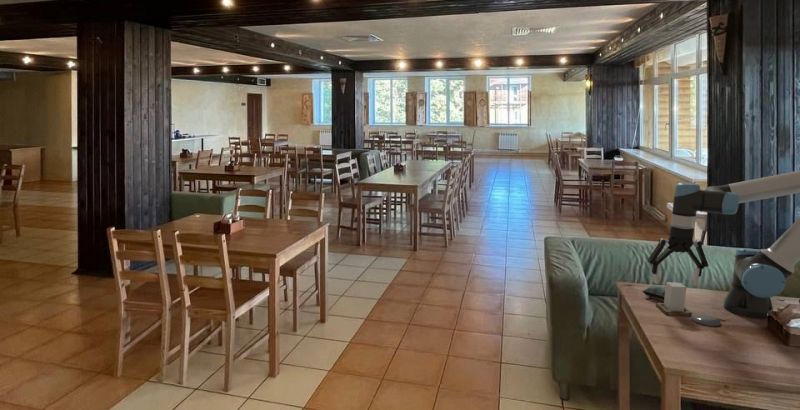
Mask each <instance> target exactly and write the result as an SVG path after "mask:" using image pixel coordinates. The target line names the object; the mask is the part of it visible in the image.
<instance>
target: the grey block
mask: <svg viewBox="0 0 800 410" xmlns="http://www.w3.org/2000/svg"><path fill="white" fill-rule="evenodd" d="M665 287H666V288H665V298H664V301H663V303H664V308H665V309H666V310H667V311H684V307H685V301H686V293H687V286H685V284H683V283H681V282H670V281H666V282H665Z"/></svg>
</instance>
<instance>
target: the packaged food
mask: <svg viewBox="0 0 800 410" xmlns="http://www.w3.org/2000/svg"><path fill="white" fill-rule="evenodd" d="M665 288H666V286H663V285H658V284H653V285H650V286H649V287H647V288H646V289H643V290H641V291H642V293H643V294H644V295H645V296H646V297H648V298H650V299H651V298H652V299H654V300H658V301H662V302H664V298H665Z"/></svg>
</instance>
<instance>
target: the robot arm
mask: <svg viewBox="0 0 800 410" xmlns="http://www.w3.org/2000/svg"><path fill="white" fill-rule="evenodd" d="M700 186H701V185H700V184H698V183H693V182H679V183H677V184H676V185H675V188H674V189H675V191H674V194H673V203H672V212H671V219H670V224H671V226H670V227H669V235H668V237H669V238H667V239H666V238H662V237H660V238H659V240H658V244H657V245H656V247H655V248H654V250H653V251H652V253H651V254H650V255H649V257H648V258H647V263H649V264H651V273H652V274H653V279H652V280H653V281H652V282H653V283H654V284H655V285H658V284H659V282H660V281H659V280H660V279H659V278H660V272H661V271H660V270H661V266H660V264H661V263H662V262H663V261H665V259H666V258H668V257H669V256H670V255H671V254H673V253H674V252H675V253H682V254H685V253H687V255H688V256H689V258H690V259H691V260H692V262H693V263H694V264H695V265H694V266H693V269H692V270H693V271H692V278H691V284H692V286H695V287H698V284H699V283H698V282H699V277H701V276H702V273H703V272H702V271H703V270H704V269H705V268H708V267H709V262H708V260H707V257H706V254H705V252H704V250H703V242H702V241H700V240H698V239H695V240H693V239H694V235H695V233H694V232H695V229H694V228H695V225H696V219H697V218H696V217H697V212H701V213H702V212H703V213H713V214H721V215H735V214H736V213H738V209H739V206H740V205H739V204H743V203H749V202H755V201H759V200H760V201H761V200H765V199H766V200H767V199H773V198H777V197H784V196H789V195H794V194H795V195H796V194H800V170H794V171H790V172H786V173H780V174H775V175H770V176H763V177H760V178H754V179H748V180H743V181H739V182H733V183H728V184H723V185H718V186H717V185H711V186H708V187H706V188H705V189H701V187H700ZM667 244H668V245H667ZM666 245H667V246H666ZM665 246H666V248H665ZM692 246H694V247H695V250H696V252H697V255H696V254H695V253H694V252H693V250H692V249H691V248H692ZM664 248H665V249H664ZM663 249H664V250H663ZM662 250H663V251H662ZM697 256H698V258H697ZM734 258H735V259H734V263H733V264H734V266H733V273H732V281H731V288H730V289H729V291H728V293H727V295H726V297H725V298H724V302H723V307H724V309H725V310H727V311H729V312H731V313H733V314H737V315H740V316H744V317H745V316H746V317H750V318H751V317H752V318H762V319H763V318H768V317H767V313H768V311H773V312H774V307H773V303H772V299H771V298H772V297H776V296H777V295H779V294H781V293H782V291H783V290H784V288H785V286H786V282H787V280H788V279H789V278H790V277H792V275H793V274H794V273H795V267H794V266H795V265H796V264H797V263H798V262H799V261H800V216H799V217H798V218H797V219H796V220H795V221H794V222H793V223H792V224H791V226H790V227H788V229H786V231H784V232H783V234H781V236H780V237H778V238H777V240H775V242H774V243H773V244H772V245H770V247H768V248H761V249H755V248H747V247H744V248H742V247H740V248H738V249H736V253H735V255H734Z"/></svg>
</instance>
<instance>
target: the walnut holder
mask: <svg viewBox="0 0 800 410" xmlns="http://www.w3.org/2000/svg"><path fill="white" fill-rule="evenodd" d="M655 307H656V308H657V309H658V310H660V311H661V313H663V314H664V315H666V316H685V317H686V316H687V317H691V315H693V312H692V311H690V310H689V309H688V308H687V307H685V306H684V311H667V310H666V309H665V308H664V302H655Z"/></svg>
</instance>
